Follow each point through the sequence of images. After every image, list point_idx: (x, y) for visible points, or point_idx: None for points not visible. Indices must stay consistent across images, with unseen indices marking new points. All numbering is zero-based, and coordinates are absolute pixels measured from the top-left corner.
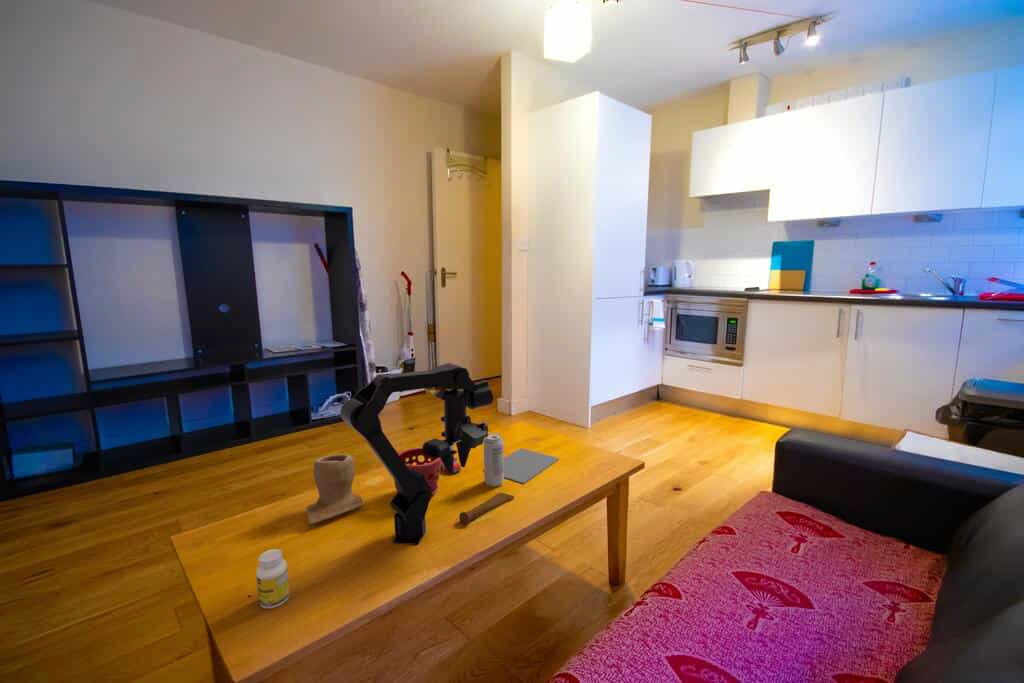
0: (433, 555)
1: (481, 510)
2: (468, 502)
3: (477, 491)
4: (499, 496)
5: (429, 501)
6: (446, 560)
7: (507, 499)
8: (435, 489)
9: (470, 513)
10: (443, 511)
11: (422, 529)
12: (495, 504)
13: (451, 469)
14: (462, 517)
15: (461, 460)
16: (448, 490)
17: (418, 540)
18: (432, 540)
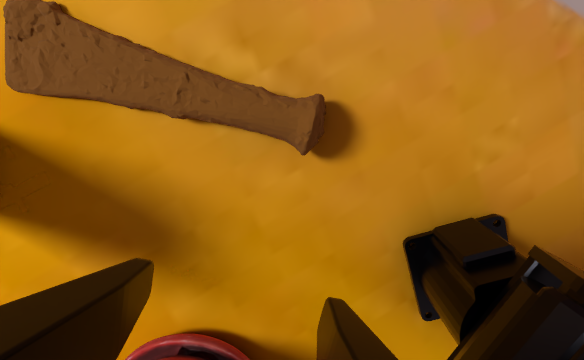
0: (543, 127)
1: (222, 80)
2: (160, 186)
3: (61, 193)
4: (53, 67)
5: (523, 279)
6: (563, 63)
7: (55, 14)
8: (167, 346)
9: (287, 106)
10: (265, 243)
11: (490, 230)
12: (133, 47)
13: (374, 334)
14: (320, 130)
15: (109, 342)
16: None
17: (489, 222)
18: (457, 180)
